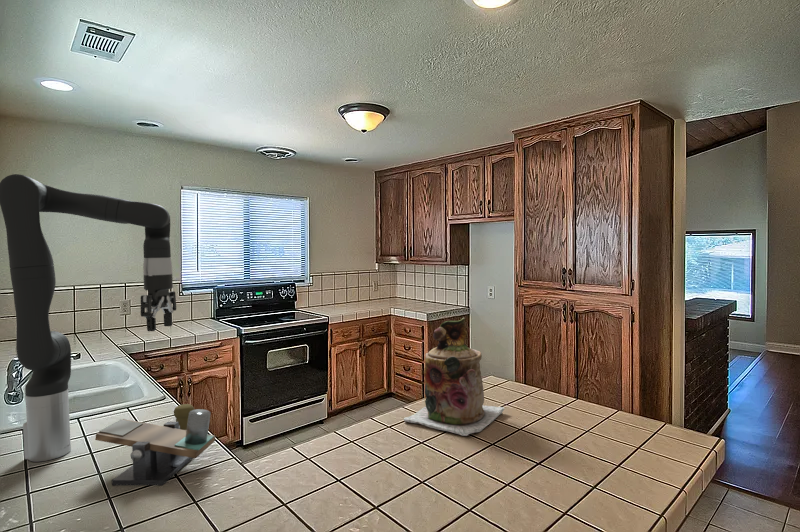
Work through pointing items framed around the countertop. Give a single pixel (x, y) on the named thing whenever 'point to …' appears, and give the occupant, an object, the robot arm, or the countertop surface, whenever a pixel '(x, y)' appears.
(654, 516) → the countertop surface
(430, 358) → the cookie jar
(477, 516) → the countertop surface
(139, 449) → the seesaw stand
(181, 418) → the olive brown waisted cylinder
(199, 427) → the cylinder
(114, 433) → the beam
